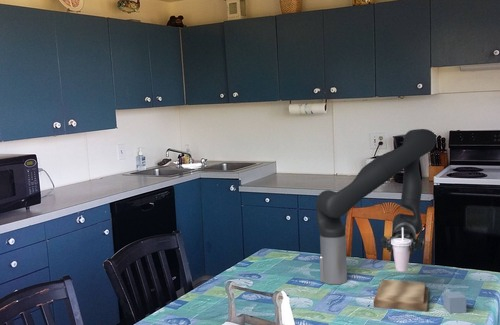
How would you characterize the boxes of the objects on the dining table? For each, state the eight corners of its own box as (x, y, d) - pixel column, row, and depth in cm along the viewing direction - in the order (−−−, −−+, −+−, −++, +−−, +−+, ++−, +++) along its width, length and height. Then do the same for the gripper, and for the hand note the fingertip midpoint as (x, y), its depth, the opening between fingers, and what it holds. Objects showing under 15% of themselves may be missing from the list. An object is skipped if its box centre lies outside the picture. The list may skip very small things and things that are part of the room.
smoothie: (413, 273, 166) (412, 230, 164) (392, 272, 167) (391, 230, 165) (410, 266, 172) (410, 224, 170) (390, 266, 173) (389, 225, 171)
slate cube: (449, 314, 158) (449, 298, 157) (443, 307, 163) (443, 292, 162) (466, 313, 158) (466, 297, 157) (459, 306, 163) (459, 291, 162)
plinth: (373, 307, 166) (373, 294, 165) (379, 289, 181) (379, 278, 180) (426, 311, 160) (426, 298, 160) (428, 293, 175) (428, 281, 175)
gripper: (382, 224, 184) (376, 237, 168) (425, 225, 179) (423, 238, 163) (383, 245, 185) (377, 259, 169) (426, 246, 180) (424, 261, 164)
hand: (400, 249), depth 166 cm, fingers closed on smoothie, 6 cm apart
